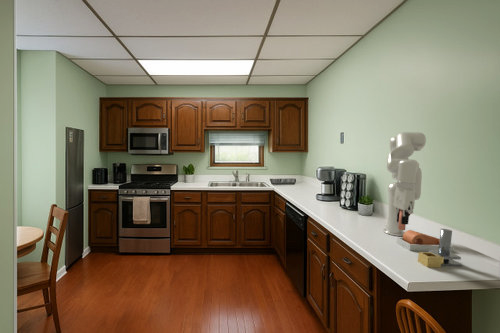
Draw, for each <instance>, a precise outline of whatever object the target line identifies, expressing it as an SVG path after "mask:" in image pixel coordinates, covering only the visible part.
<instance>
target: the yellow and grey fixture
mask: <svg viewBox="0 0 500 333" xmlns="http://www.w3.org/2000/svg"><path fill="white" fill-rule="evenodd" d="M439 232H440V233H439V239H440V241H439V250H435V249H428V251H418V254H417V255H418V256H417V262H418V263H419V264H421V265H423V266H425V267H426V268H442V266H443V267H446V266H448V267H463V264H462V263H461V262H459V261H460V260H461V259H462V257H461V256H460V255H458V254H455V253H453V252H450V248H451V245H452V235H453V230H451V229H448V228H440V231H439ZM456 260H458V261H456Z"/></svg>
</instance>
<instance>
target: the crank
mask: <svg viewBox="0 0 500 333" xmlns="http://www.w3.org/2000/svg"><path fill="white" fill-rule="evenodd" d="M404 232H405V233H404V234H403V236H402V238H403V240H404V241H405V242H407V243H409V244H416V245H439V241H440V238H438V237H435V236H433V235H432V236H431V235H428V234H425V233H422V232H418V231H414V230H413V229H412V230H411V229H409V230H405V231H404Z"/></svg>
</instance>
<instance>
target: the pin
mask: <svg viewBox="0 0 500 333" xmlns="http://www.w3.org/2000/svg"><path fill="white" fill-rule="evenodd" d="M406 212H407V211H406ZM402 216H403V210H401V209H400V215H399V226H398V229H400V230H404V231H406V227H407V226H406V225H407V224H401V220H402Z"/></svg>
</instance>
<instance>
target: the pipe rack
mask: <svg viewBox="0 0 500 333" xmlns="http://www.w3.org/2000/svg"><path fill="white" fill-rule="evenodd" d="M396 244H398V245H399V246H401V247H403V248H404V249H406V250H408V251H413V252H414V251H417V252H428V249H435V250H439V245H416V244H409V243H407V242H405V241H404V240H403V237H396ZM450 252H451V253H453V252H454V245H452V244H451V248H450Z"/></svg>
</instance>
